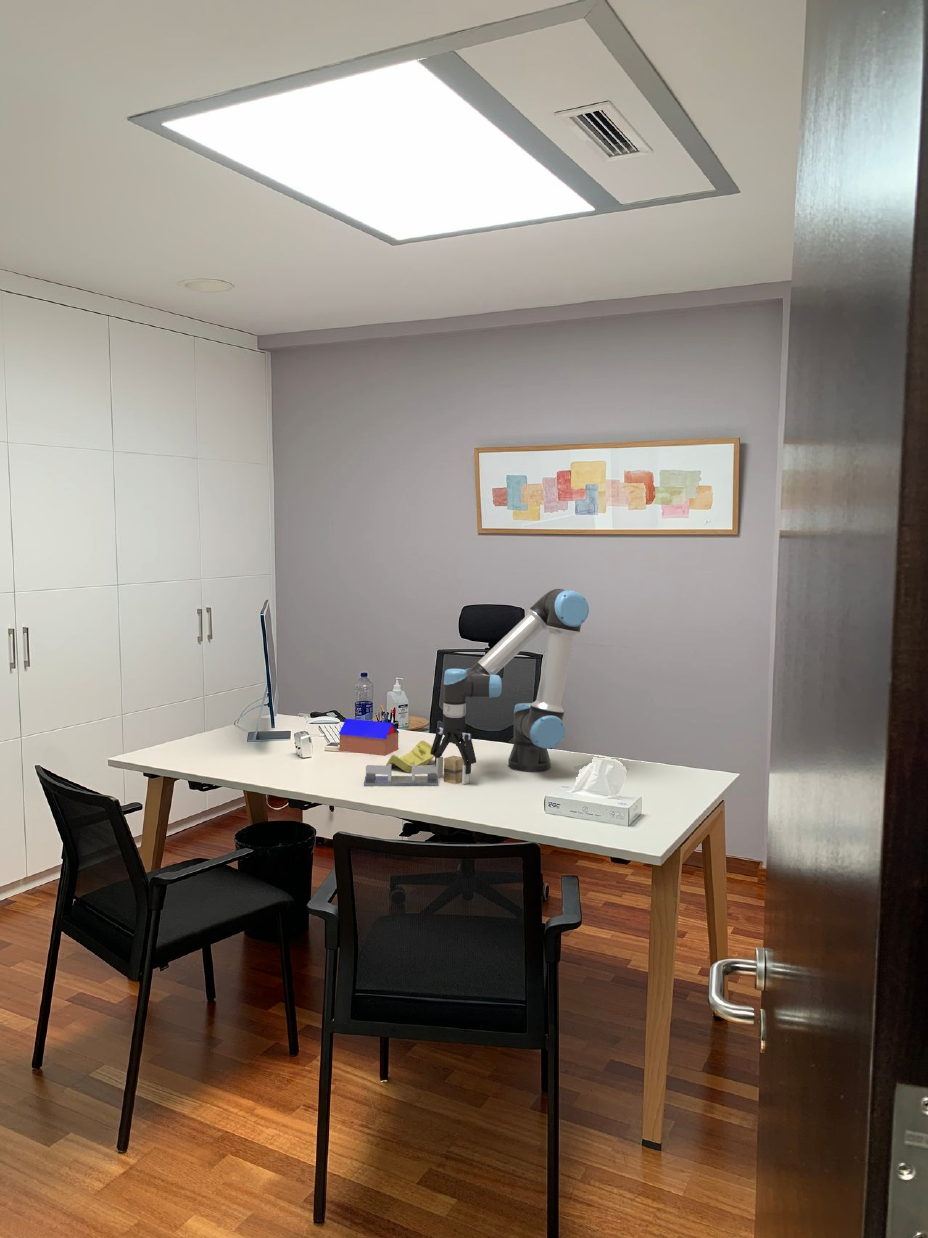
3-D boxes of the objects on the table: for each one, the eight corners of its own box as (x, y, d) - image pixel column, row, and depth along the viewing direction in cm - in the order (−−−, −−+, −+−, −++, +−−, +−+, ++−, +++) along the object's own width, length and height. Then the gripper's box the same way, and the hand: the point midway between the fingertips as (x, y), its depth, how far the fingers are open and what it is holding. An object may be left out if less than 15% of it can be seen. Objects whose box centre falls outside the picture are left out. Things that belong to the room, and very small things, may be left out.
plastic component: (412, 767, 314) (390, 752, 318) (405, 785, 317) (383, 769, 321) (441, 752, 332) (419, 737, 335) (434, 768, 334) (413, 754, 338)
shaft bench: (437, 778, 309) (437, 762, 308) (438, 786, 300) (438, 769, 299) (365, 779, 307) (365, 762, 307) (363, 786, 298) (363, 769, 298)
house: (385, 756, 340) (385, 725, 339) (338, 751, 348) (338, 721, 347) (399, 750, 351) (399, 720, 350) (353, 745, 359) (353, 715, 358)
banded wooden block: (453, 778, 309) (453, 755, 309) (465, 781, 306) (465, 757, 305) (443, 781, 305) (443, 758, 305) (455, 784, 302) (455, 760, 301)
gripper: (420, 711, 308) (419, 775, 311) (474, 722, 294) (472, 789, 296) (435, 708, 314) (433, 771, 316) (488, 719, 300) (486, 784, 302)
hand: (452, 779), depth 306 cm, fingers open, 11 cm apart
